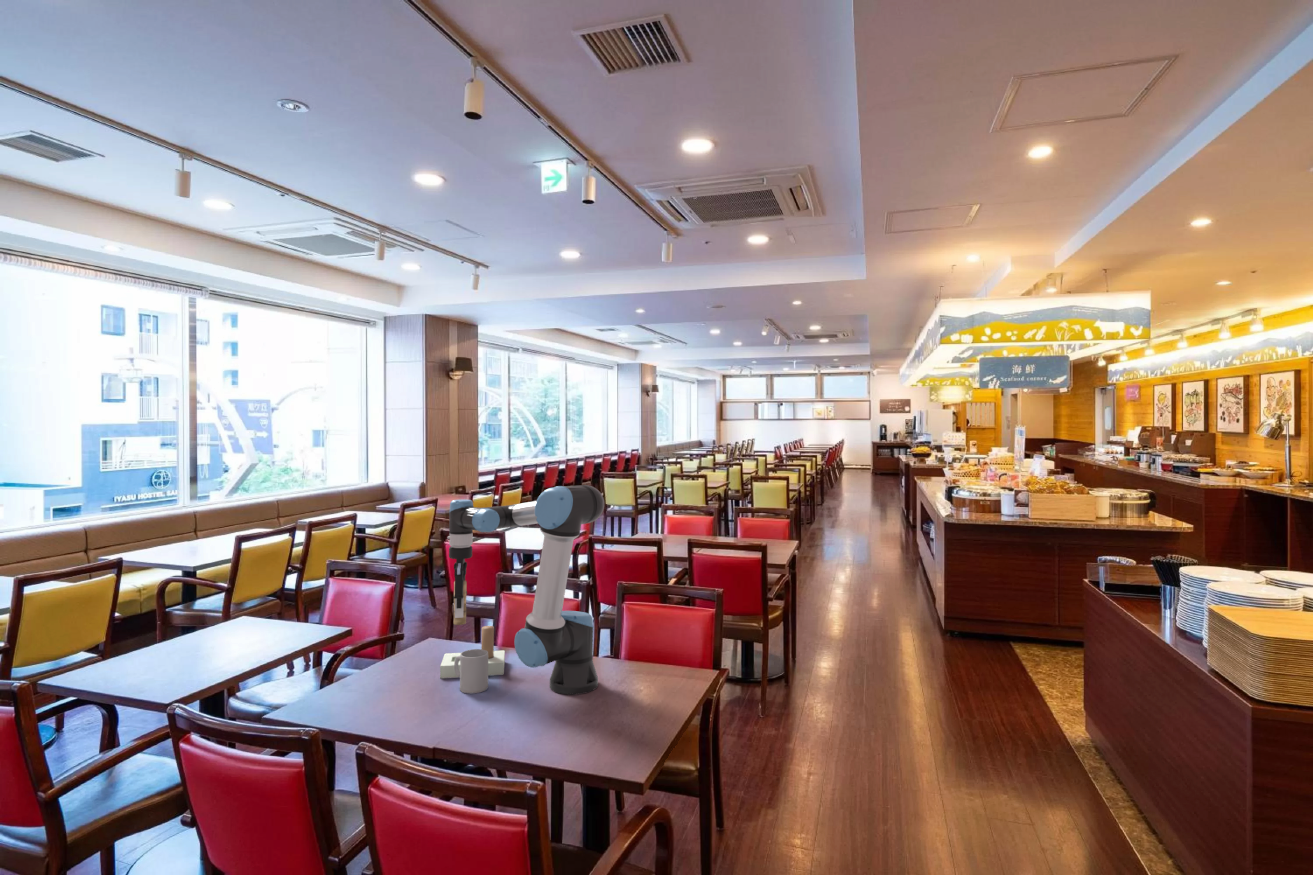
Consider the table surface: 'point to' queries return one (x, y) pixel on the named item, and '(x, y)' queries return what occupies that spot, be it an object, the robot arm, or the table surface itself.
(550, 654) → the robot arm
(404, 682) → the table surface
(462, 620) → the oak leg
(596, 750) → the table surface
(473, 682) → the mug
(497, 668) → the cream base with post
